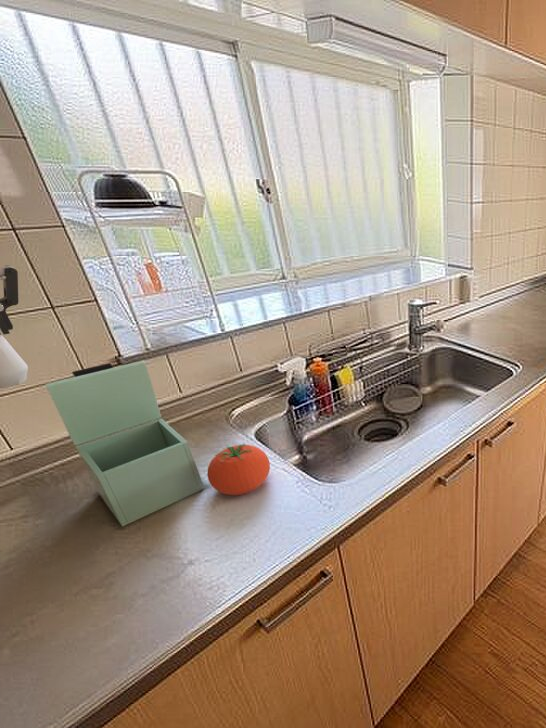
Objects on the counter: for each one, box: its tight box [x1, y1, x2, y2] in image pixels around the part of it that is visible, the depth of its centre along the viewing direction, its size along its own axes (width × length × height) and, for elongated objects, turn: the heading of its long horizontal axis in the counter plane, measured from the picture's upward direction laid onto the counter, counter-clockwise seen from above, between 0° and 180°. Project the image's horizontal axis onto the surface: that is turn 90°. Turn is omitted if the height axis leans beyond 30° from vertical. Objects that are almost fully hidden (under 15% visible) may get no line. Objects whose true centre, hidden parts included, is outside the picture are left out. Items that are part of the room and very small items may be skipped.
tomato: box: [206, 443, 271, 496], centre depth 81 cm, size 10×10×10 cm
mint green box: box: [75, 418, 205, 527], centre depth 78 cm, size 13×13×12 cm
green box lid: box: [44, 360, 162, 447], centre depth 75 cm, size 13×13×5 cm
